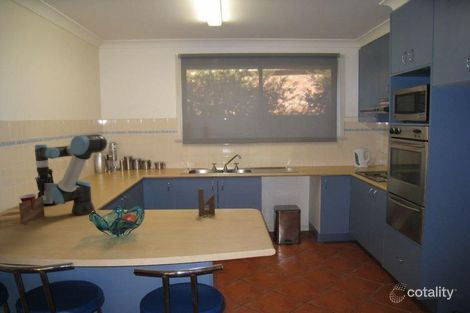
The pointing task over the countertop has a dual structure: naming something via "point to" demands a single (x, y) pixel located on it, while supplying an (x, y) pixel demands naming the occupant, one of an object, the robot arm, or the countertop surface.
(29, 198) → the plastic cup
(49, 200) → the notched grey panel
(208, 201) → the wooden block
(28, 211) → the walnut board
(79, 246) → the countertop surface
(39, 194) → the dark brown vase
